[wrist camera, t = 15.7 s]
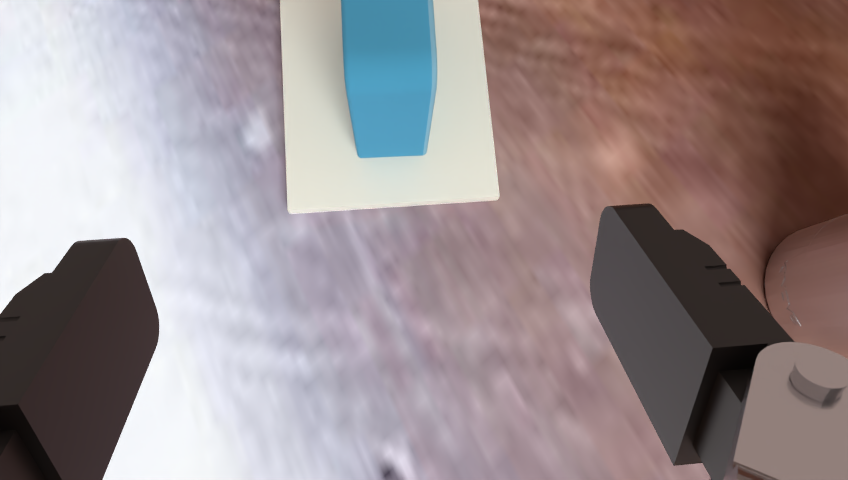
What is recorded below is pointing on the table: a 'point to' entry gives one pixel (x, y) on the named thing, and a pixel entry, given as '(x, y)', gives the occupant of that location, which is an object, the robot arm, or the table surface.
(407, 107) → the data package
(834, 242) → the robot arm
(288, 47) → the cream mat
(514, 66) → the table surface
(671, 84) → the table surface
